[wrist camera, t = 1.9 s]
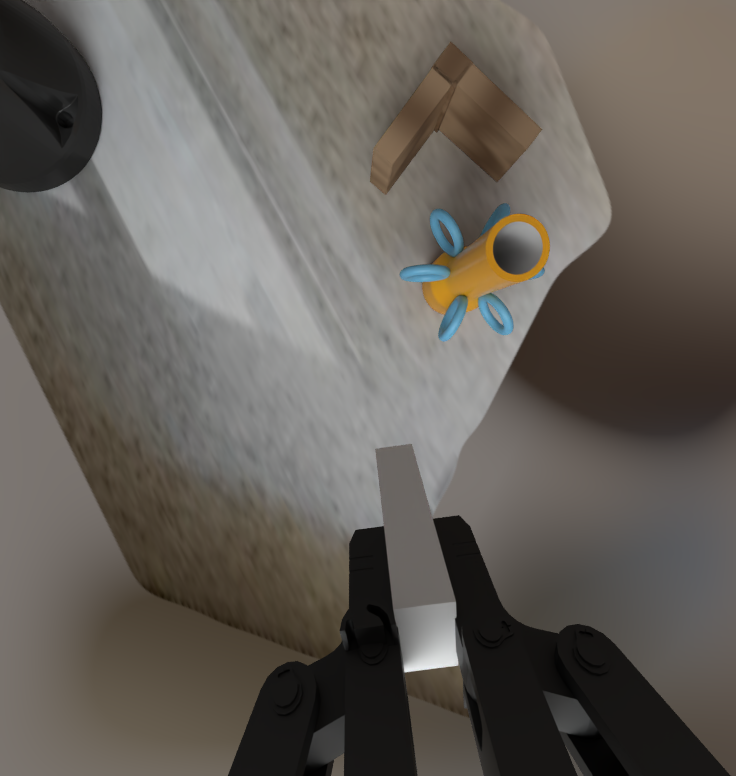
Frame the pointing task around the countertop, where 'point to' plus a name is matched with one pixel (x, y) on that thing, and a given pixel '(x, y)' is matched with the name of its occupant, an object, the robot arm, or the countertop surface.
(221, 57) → the countertop surface
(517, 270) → the yellow and blue tube
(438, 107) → the v block
